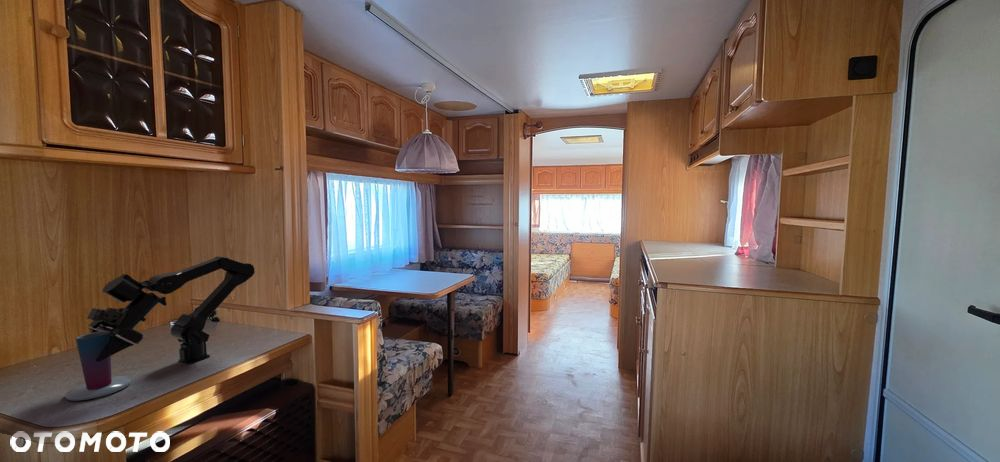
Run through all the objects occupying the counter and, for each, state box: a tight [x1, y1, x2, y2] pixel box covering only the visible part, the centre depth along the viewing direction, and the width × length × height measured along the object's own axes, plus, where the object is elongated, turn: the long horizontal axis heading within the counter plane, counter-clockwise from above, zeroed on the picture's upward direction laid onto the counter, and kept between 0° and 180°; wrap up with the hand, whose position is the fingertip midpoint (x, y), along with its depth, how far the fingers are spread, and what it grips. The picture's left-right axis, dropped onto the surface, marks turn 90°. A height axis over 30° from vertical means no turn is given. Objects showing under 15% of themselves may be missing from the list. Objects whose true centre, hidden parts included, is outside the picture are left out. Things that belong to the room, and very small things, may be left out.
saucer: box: [65, 375, 132, 402], centre depth 111 cm, size 13×13×1 cm
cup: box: [75, 331, 112, 389], centre depth 111 cm, size 7×7×15 cm
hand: (89, 358), depth 109 cm, fingers open, 9 cm apart
